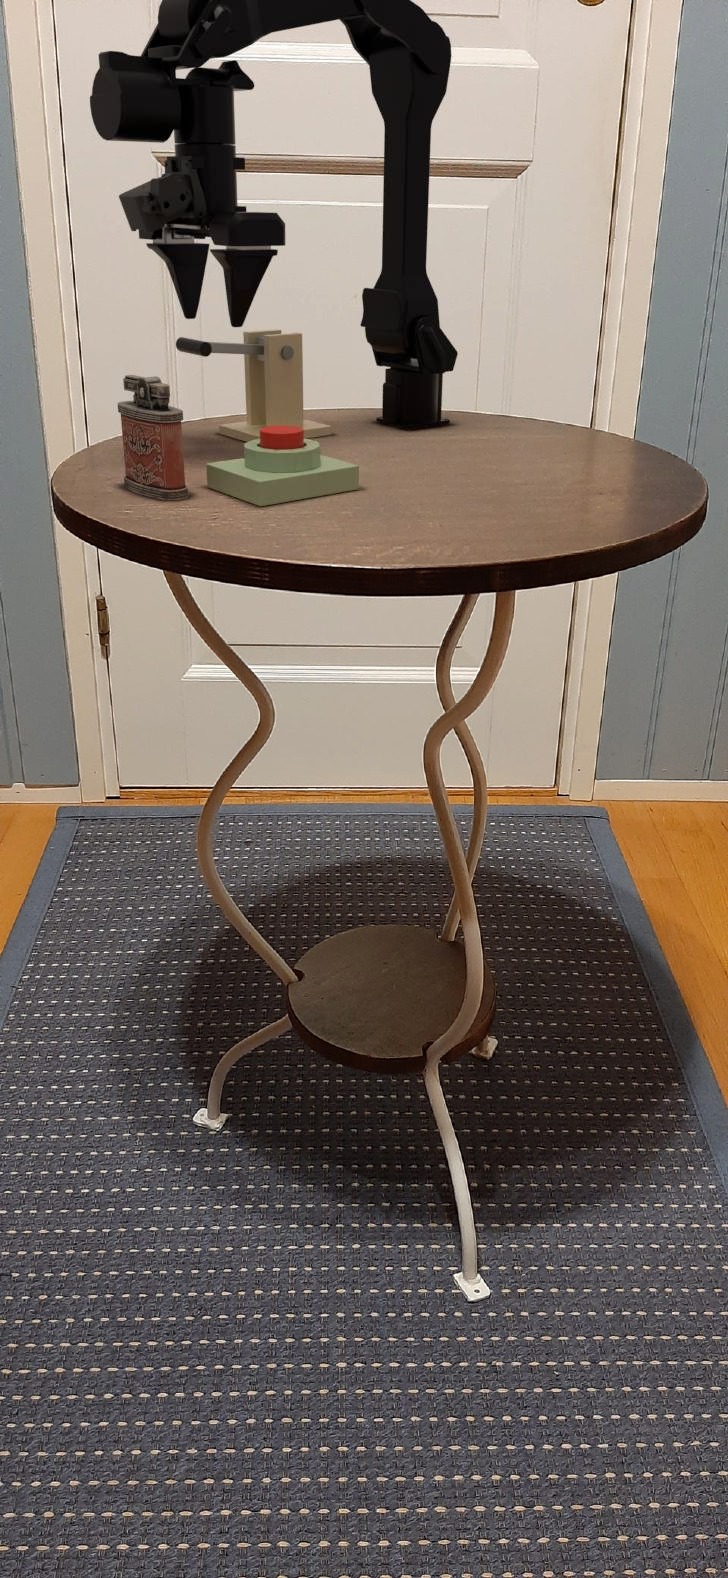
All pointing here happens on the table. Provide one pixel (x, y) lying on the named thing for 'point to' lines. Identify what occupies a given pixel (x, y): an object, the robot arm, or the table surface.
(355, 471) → the button box
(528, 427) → the table surface
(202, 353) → the lever
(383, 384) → the robot arm
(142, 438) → the lighter
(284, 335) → the bracket
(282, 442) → the button
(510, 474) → the table surface
